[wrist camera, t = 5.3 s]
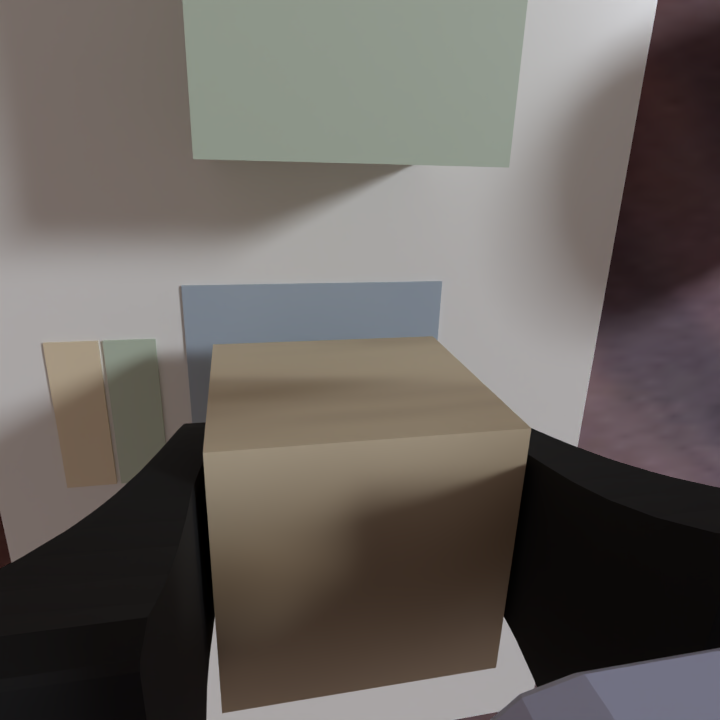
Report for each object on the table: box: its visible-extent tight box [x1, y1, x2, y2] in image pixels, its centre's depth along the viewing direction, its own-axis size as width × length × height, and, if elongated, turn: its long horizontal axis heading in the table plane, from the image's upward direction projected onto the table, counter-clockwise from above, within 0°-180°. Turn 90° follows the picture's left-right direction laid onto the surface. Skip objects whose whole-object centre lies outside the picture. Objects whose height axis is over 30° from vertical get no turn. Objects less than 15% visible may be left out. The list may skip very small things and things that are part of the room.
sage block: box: [182, 0, 528, 167], centre depth 9 cm, size 5×5×4 cm
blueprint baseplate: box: [0, 0, 657, 720], centre depth 14 cm, size 24×15×1 cm, turn 178°
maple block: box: [203, 336, 531, 713], centre depth 11 cm, size 5×5×4 cm
